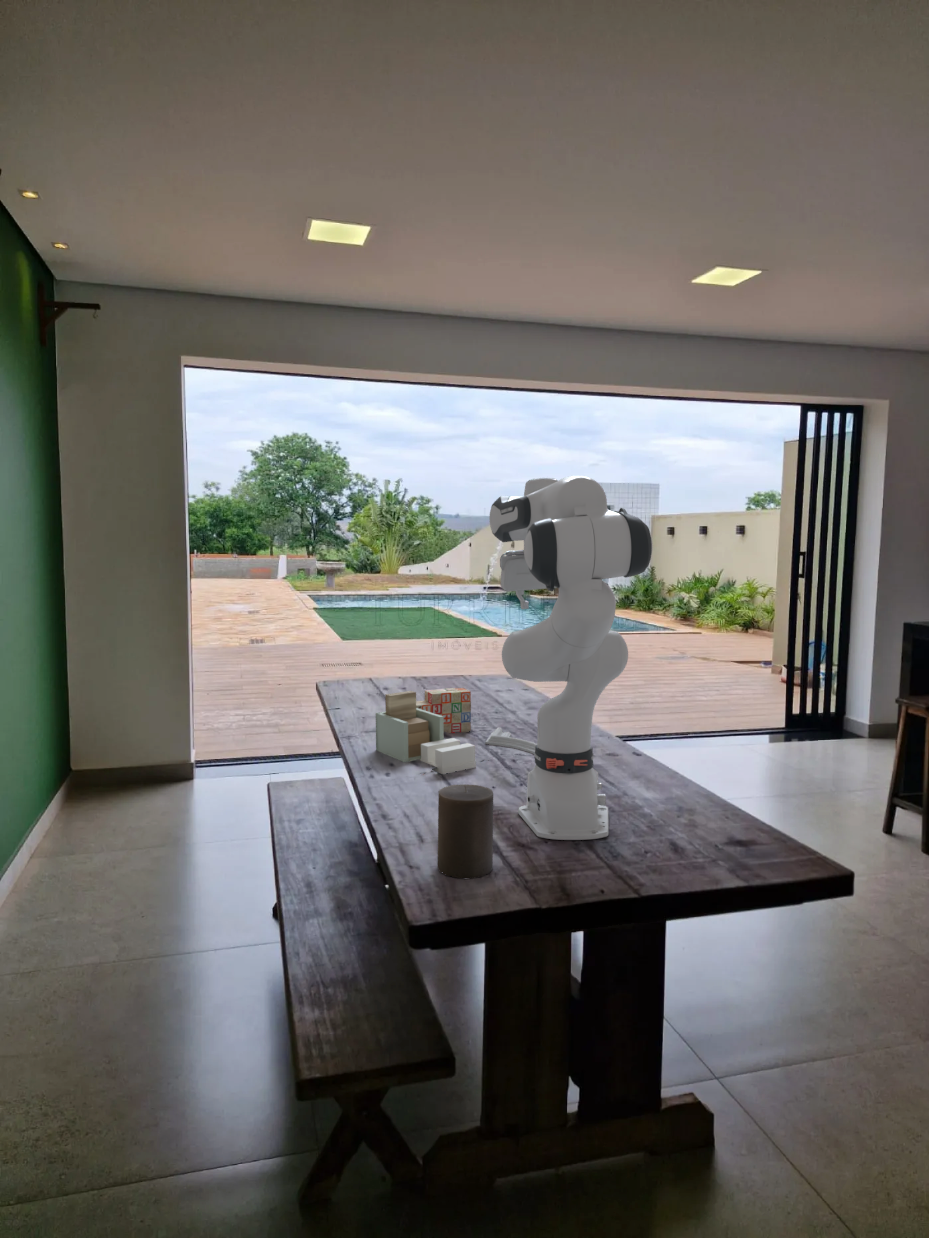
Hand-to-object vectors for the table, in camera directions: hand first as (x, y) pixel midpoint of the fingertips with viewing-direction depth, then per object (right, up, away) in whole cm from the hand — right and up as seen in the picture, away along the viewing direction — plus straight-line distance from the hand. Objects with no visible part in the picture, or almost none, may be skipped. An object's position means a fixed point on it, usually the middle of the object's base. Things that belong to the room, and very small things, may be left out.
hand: (543, 607), depth 193 cm
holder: (-23, -40, +13) cm, 48 cm away
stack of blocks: (-28, -36, +48) cm, 66 cm away
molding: (+1, -39, +28) cm, 48 cm away
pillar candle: (-18, -47, -49) cm, 70 cm away
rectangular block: (-35, -37, +25) cm, 57 cm away
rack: (-33, -39, +22) cm, 55 cm away
